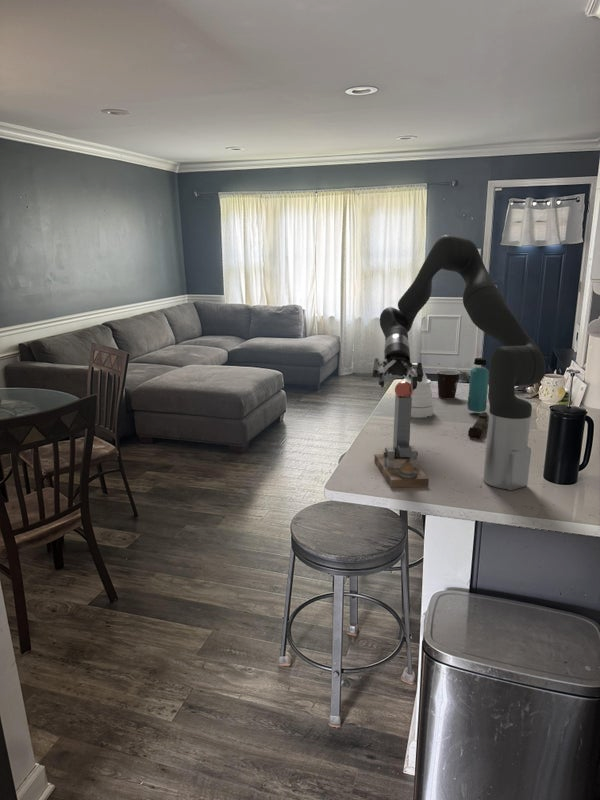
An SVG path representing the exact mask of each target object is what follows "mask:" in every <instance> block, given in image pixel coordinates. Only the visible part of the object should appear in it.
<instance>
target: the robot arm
mask: <svg viewBox="0 0 600 800" xmlns="http://www.w3.org/2000/svg"><path fill="white" fill-rule="evenodd" d="M479 251H480V250H478V248H477V246H476V244H475V243H474V241H472V239H471V240H470V239H468V238H466V237H465V238H464V237H461V236H460V237H459V236H456V235H451V234H444V235H442V236H440V237H439V238H438V239H437V240H436V241H435V243H434V245H433V246H432V248H431V249H430V251H429V252H428V254H427V256H426V259H424V262H423V264H422V265H421V267H420V269H419V270H418V273H417V275H416V277H415V279H414V280H413V282H412V283H411V285H410V286H409V287H408V289H406V291H405V292H404V293H403V295H402V296H401V297H400V298H399V300H398V303H397V308H395V307H392V306H390V307H386V308H384V309H383V310H382V312H381V313H380V317H379V326H380V329H381V331H382V333H383V335H384V337H385V338H384V339H385V340H384V343H385V344H384V348H383V349H384V350H383V353H384V355H383V356H384V357H383V358H384V360H383V361H382V360H380V359H379V358H377V357H376V358H374V359H373V360H374V362H373V365H372V366H373V368H372V377H373V378H378V386H380V387H381V388H384V386H385V378H387V377H389V376H390V375H391V376H399V377H404V379H405V378H406V379H409V380H410V381H411V385H412V387H413V391H414V389H416V388H417V381H418V382H422V378H423V375H424V374H423V371H424V369H423V364H422V362H418V364H417V365H414V364H412V362H411V352H410V351H411V350H410V343H409V332H410V331H411V329H412V326H413V324H414V321H415V318H416V317H417V315H418V313H420V311H421V310H422V309H423V308H424V306H425V305H426V304H427V303H428V302H429V299H430V297H431V295H432V290H433V284H432V283H433V278H434V276H435V275H437V273H438V272H439V271H441V270H445V271H450V272H455V273H457V274H459V275H460V276H461V277H462V279H463V281H464V282H465V288H464V291H463V294H462V302H463V303H462V304H463V306H464V309H465V311H466V312H467V314H468V317H469V318H470V320H471V322H472V323H473V324H474V325H475V326H476V328H478V329H480V331H482V332H484V333H485V334H486V335H487V336H490V337H491V338H492V339H494V340H495V341H497V342H498V343H500V345H502V346H498V347H496V348H495V349H494V350H493V352H492V353H491V357H490V361H489V368H488V371H489V376H488V391H487V392H488V394H487V395H488V396H487V398H488V402H489V413H488V420H487V431H486V432H487V433H486V444H485V445H486V446H485V456H484V467H483V479H482V480H483V482H484V483H485V484H487V485H489V486H491V487H493V488H499V489H504V490H508V491H513V490H517V489H521V488H525V487H527V486H528V484H529V483H528V482H529V474H530V473H529V472H530V465H531V464H530V463H531V455H532V448H531V447H530V446H528V445H529V440H530V439H529V437H530V429H531V428H530V427H531V422H532V421H531V418H532V411H533V407H532V404H531V402H529V401H527V400H526V399H522V398H519V397H517V396H516V394H515V386H519V387H520V386H530V385H535V384H538V383H540V382H542V380H543V379H544V378H545V376H546V370H547V367H546V365H547V364H546V360H545V357H544V355H543V353H542V351H541V349H540V348H539V346H538V345H537V344H536V342H534V340H533V339H532V338H531V336H529V334H528V333H527V332H526V331H525V329H524V328H523V327H522V326H521V324H520V322H519V321H518V319H517V318H516V316H515V315H514V313H513V312H512V310H511V309H510V307H509V305H508V303H507V302H506V299H505V297H504V296H503V295H502V292H500V289H499V287H497V285H496V284H495V282H494V281H493V278H492V276H491V275H490V273H489V272H488V270H487V267H486V266H485V264H484V261H483V259H482V256H481V255H480V252H479ZM381 367H382V369H380V368H381ZM379 369H380V370H379ZM413 369H414V371H415V372H413ZM416 373H417V374H416Z"/></svg>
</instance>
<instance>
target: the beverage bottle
mask: <svg viewBox="0 0 600 800" xmlns="http://www.w3.org/2000/svg"><path fill="white" fill-rule="evenodd" d="M473 365H475V366H474V367H472V368H471V369H470V371H469V372H470V374H469V385H468V386H469V387H468V397H467V410H468V411H470V412H474V413H475V412H476V413H483V412H486V410H487V403H488V392H489V369H487V367H483V366H487V358H484V357H476V358H474V362H473Z"/></svg>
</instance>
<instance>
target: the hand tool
mask: <svg viewBox="0 0 600 800" xmlns="http://www.w3.org/2000/svg"><path fill="white" fill-rule="evenodd" d="M488 418H489V413H487V412H486V411H484V412H480V414H479V415H478V418H477V420H476V421H475V423H474V424H473V425H472V427H469V429H468V432H467V433H468V434H467V436H468V438H469V437H470V438H469V439H473V438H477V439H476V440H479V439H481V437H482V434H483V433H484V430H485V429H487V427H488Z"/></svg>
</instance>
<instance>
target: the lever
mask: <svg viewBox="0 0 600 800" xmlns="http://www.w3.org/2000/svg"><path fill="white" fill-rule="evenodd" d="M394 393H395V397H394V398H395V400H394V401H395V402H394V419H393V439H392V441H393V443H392V448H393V449H394V451H395V459H408V457H411V450H412V447H411V446H412V445H410V441H411V439H410V437H411V421H412V420H411V419H412V417H411V405H412V397H411V395H412V393H413V387H412V385H411V384H410V383H409V382H406V381H402V380H401V381H400V382H398V383H396V385H395V387H394Z"/></svg>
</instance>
